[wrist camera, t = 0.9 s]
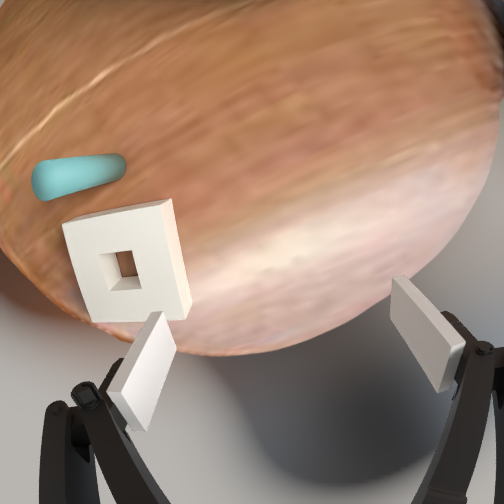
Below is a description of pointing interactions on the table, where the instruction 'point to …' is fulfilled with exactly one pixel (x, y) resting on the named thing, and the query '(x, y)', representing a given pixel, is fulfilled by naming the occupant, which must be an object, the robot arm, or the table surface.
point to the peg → (75, 174)
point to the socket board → (145, 256)
